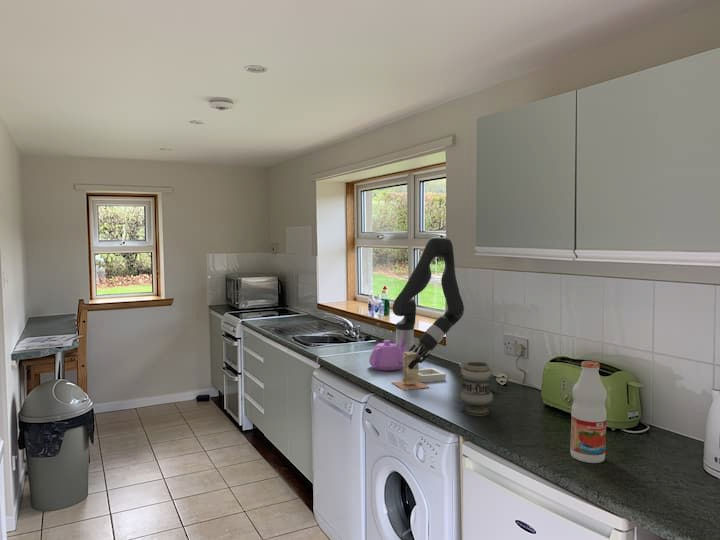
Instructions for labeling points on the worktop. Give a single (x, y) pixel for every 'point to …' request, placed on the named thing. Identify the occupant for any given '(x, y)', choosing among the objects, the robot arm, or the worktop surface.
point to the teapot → (387, 356)
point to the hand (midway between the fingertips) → (406, 366)
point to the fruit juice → (588, 416)
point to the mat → (410, 385)
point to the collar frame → (430, 375)
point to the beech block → (409, 374)
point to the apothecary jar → (476, 388)
